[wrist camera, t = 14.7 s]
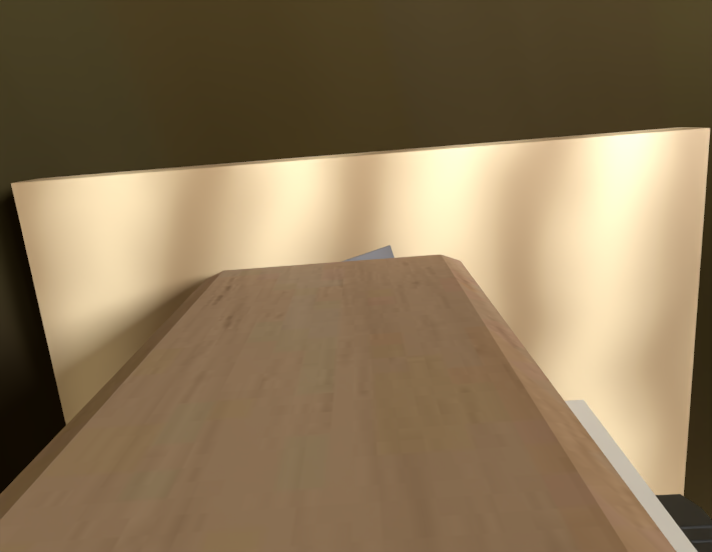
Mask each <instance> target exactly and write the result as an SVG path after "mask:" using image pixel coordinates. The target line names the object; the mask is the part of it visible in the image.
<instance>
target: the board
mask: <svg viewBox="0 0 712 552" xmlns="http://www.w3.org/2000/svg"><path fill="white" fill-rule="evenodd" d="M709 139H710V128H695V127H678V128H665V129H653V130H640V131H628V132H615V133H603V134H590V135H577V136H565V137H552V138H540V139H527V140H515V141H502V142H490V143H477V144H464V145H452V146H439V147H427V148H414V149H402V150H389V151H376V152H364V153H351V154H339V155H326V156H314V157H301V158H288V159H276V160H263V161H251V162H238V163H226V164H213V165H201V166H188V167H175V168H163V169H150V170H138V171H125V172H113V173H100V174H87V175H75V176H62V177H50V178H39V179H33V180H27V181H21V182H16V183H11V186H12V190H13V195H14V199H15V203H16V208H17V212H18V217H19V221H20V225H21V230H22V234H23V238H24V243H25V247H26V252H27V256H28V260H29V265H30V269H31V274H32V278H33V282H34V287H35V291H36V295H37V300H38V304H39V309H40V313H41V317H42V322H43V326H44V330H45V335H46V339H47V344H48V348H49V352H50V357H51V361H52V366H53V370H54V374H55V379H56V383H57V387H58V392H59V396H60V401H61V405H62V409H63V414H64V418H65V422H66V425H67V424H68V423H69V422H70V421H71V420H72V419H73V418H74V417H75V415H76V414H77V413H78V412H79V411H80V410H81V409H82V408H83V407H84V406H85V405H86V404H87V403H88V402H89V401H90V400H91V399H92V398H93V397H94V396H95V395H96V394H97V392H98V391H99V390H100V389H101V388H102V387H103V386H104V385H105V384H106V383H107V382H108V381H109V380H110V379H111V378H112V377H113V376H114V375H115V374H116V373H117V372H118V371H119V370H120V368H121V367H122V366H123V365H124V364H125V363H126V362H127V361H128V360H129V359H130V358H131V357H132V356H133V355H134V354H135V353H136V352H137V351H138V350H139V349H140V348H141V347H142V345H143V344H144V343H145V342H146V341H147V340H148V339H149V338H150V337H151V336H152V335H153V334H154V333H155V332H156V331H157V330H158V329H159V328H160V327H161V326H162V325H163V324H164V322H165V321H166V320H167V319H168V318H169V317H170V316H171V315H172V314H173V313H174V312H175V311H176V310H177V309H178V308H179V307H180V306H181V305H182V304H183V303H184V302H185V301H186V299H187V298H188V297H189V296H190V295H191V294H192V293H193V292H194V291H195V290H196V289H197V288H198V287H199V286H200V285H201V284H202V283H203V282H204V281H205V280H206V279H208V278H210V277H212V276H214V275H216V274H218V273H220V272H222V271H224V270H237V269H251V268H264V267H277V266H291V265H304V264H318V263H331V262H345V261H358V260H372V259H385V258H398V257H412V256H425V255H439V254H441V255H444V256H447V257H450V258H454V259H457V260H460V261H461V262H462V264H463V265H464V266H465V268H466V269H467V270H468V272H469V273H470V274H471V276H472V277H473V278H474V280H475V281H476V282H477V284H478V285H479V287H480V288H481V289H482V291H483V292H484V293H485V295H486V296H487V297H488V299H489V300H490V301H491V303H492V304H493V305H494V307H495V308H496V309H497V311H498V312H499V313H500V315H501V316H502V318H503V319H504V320H505V322H506V323H507V324H508V326H509V327H510V328H511V330H512V331H513V332H514V334H515V335H516V336H517V338H518V339H519V340H520V342H521V343H522V344H523V346H524V347H525V348H526V350H527V351H528V353H529V354H530V355H531V357H532V358H533V359H534V361H535V362H536V363H537V365H538V366H539V367H540V369H541V370H542V371H543V373H544V374H545V375H546V377H547V378H548V379H549V381H550V382H551V383H552V385H553V386H554V388H555V389H556V390H557V392H558V393H559V394H560V396H561V397H562V398H563V400H564V401H569V400H584V401H585V402H586V404H587V405H588V406H589V408H590V409H591V410H592V412H593V413H594V414H595V416H596V417H597V418H598V420H599V421H600V422H601V424H602V425H603V426H604V428H605V429H606V430H607V432H608V433H609V434H610V436H611V437H612V438H613V440H614V441H615V442H616V444H617V445H618V446H619V448H620V449H621V450H622V452H623V453H624V454H625V456H626V457H627V458H628V460H629V461H630V462H631V464H632V465H633V466H634V468H635V469H636V470H637V472H638V473H639V474H640V476H641V477H642V478H643V480H644V481H645V482H646V484H647V485H648V486H649V488H650V489H651V490H652V492H653V493H654V494H655V495H669V494H681V495H682V496H684V482H685V469H686V455H687V441H688V427H689V414H690V400H691V386H692V372H693V359H694V345H695V331H696V317H697V304H698V290H699V276H700V262H701V249H702V235H703V221H704V207H705V194H706V180H707V166H708V152H709Z"/></svg>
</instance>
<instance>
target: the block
mask: <svg viewBox="0 0 712 552" xmlns="http://www.w3.org/2000/svg"><path fill="white" fill-rule="evenodd" d="M0 552H676V550H675V549H674V548H673V546H672V545H671V544H670V542H669V541H668V540H667V538H666V537H665V536H664V534H663V533H662V532H661V530H660V529H659V528H658V526H657V525H656V524H655V522H654V521H653V520H652V518H651V517H650V515H649V514H648V513H647V511H646V510H645V509H644V507H643V506H642V505H641V503H640V502H639V501H638V499H637V498H636V497H635V495H634V494H633V493H632V491H631V490H630V489H629V487H628V486H627V484H626V483H625V482H624V480H623V479H622V478H621V476H620V475H619V474H618V472H617V471H616V470H615V468H614V467H613V466H612V464H611V463H610V462H609V460H608V459H607V458H606V456H605V455H604V454H603V452H602V451H601V449H600V448H599V447H598V445H597V444H596V443H595V441H594V440H593V439H592V437H591V436H590V435H589V433H588V432H587V431H586V429H585V428H584V427H583V425H582V424H581V423H580V421H579V420H578V419H577V417H576V416H575V414H574V413H573V412H572V410H571V409H570V408H569V406H568V405H567V404H566V402H565V401H564V400H563V398H562V397H561V396H560V394H559V393H558V392H557V390H556V389H555V388H554V386H553V385H552V383H551V382H550V381H549V379H548V378H547V377H546V375H545V374H544V373H543V371H542V370H541V369H540V367H539V366H538V365H537V363H536V362H535V361H534V359H533V358H532V357H531V355H530V354H529V353H528V351H527V350H526V348H525V347H524V346H523V344H522V343H521V342H520V340H519V339H518V338H517V336H516V335H515V334H514V332H513V331H512V330H511V328H510V327H509V326H508V324H507V323H506V322H505V320H504V319H503V318H502V316H501V315H500V313H499V312H498V311H497V309H496V308H495V307H494V305H493V304H492V303H491V301H490V300H489V299H488V297H487V296H486V295H485V293H484V292H483V291H482V289H481V288H480V287H479V285H478V284H477V282H476V281H475V280H474V278H473V277H472V276H471V274H470V273H469V272H468V270H467V269H466V268H465V266H464V265H463V264H462V262H461V261H460V260H457V259H454V258H450V257H447V256H444V255H441V254H439V255H425V256H412V257H398V258H385V259H372V260H358V261H345V262H331V263H318V264H304V265H291V266H277V267H264V268H251V269H237V270H224V271H222V272H220V273H218V274H216V275H214V276H212V277H210V278H208V279H206V280H205V281H204V282H203V283H202V284H201V285H200V286H199V287H198V288H197V289H196V290H195V291H194V292H193V293H192V294H191V295H190V296H189V297H188V298H187V299H186V301H185V302H184V303H183V304H182V305H181V306H180V307H179V308H178V309H177V310H176V311H175V312H174V313H173V314H172V315H171V316H170V317H169V318H168V319H167V320H166V321H165V322H164V324H163V325H162V326H161V327H160V328H159V329H158V330H157V331H156V332H155V333H154V334H153V335H152V336H151V337H150V338H149V339H148V340H147V341H146V342H145V343H144V344H143V345H142V347H141V348H140V349H139V350H138V351H137V352H136V353H135V354H134V355H133V356H132V357H131V358H130V359H129V360H128V361H127V362H126V363H125V364H124V365H123V366H122V367H121V368H120V370H119V371H118V372H117V373H116V374H115V375H114V376H113V377H112V378H111V379H110V380H109V381H108V382H107V383H106V384H105V385H104V386H103V387H102V388H101V389H100V390H99V391H98V392H97V394H96V395H95V396H94V397H93V398H92V399H91V400H90V401H89V402H88V403H87V404H86V405H85V406H84V407H83V408H82V409H81V410H80V411H79V412H78V413H77V414H76V415H75V417H74V418H73V419H72V420H71V421H70V422H69V423H68V424H67V425H66V426H65V427H64V428H63V429H62V430H61V431H60V432H59V433H58V434H57V435H56V436H55V437H54V438H53V440H52V441H51V442H50V443H49V444H48V445H47V446H46V447H45V448H44V449H43V450H42V451H41V452H40V453H39V454H38V455H37V456H36V457H35V458H34V459H33V460H32V461H31V463H30V464H29V465H28V466H27V467H26V468H25V469H24V470H23V471H22V472H21V473H20V474H19V475H18V476H17V477H16V478H15V479H14V480H13V481H12V482H11V483H10V484H9V486H8V487H7V488H6V489H5V490H4V491H3V492H2V493H1V494H0Z"/></svg>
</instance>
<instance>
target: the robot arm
mask: <svg viewBox="0 0 712 552" xmlns="http://www.w3.org/2000/svg"><path fill="white" fill-rule="evenodd" d="M565 402H566V404H567V405H568V406H569V408H570V409H571V410H572V412H573V413H574V414H575V416H576V417H577V419H578V420H579V421H580V423H581V424H582V425H583V427H584V428H585V429H586V431H587V432H588V433H589V435H590V436H591V437H592V439H593V440H594V441H595V443H596V444H597V445H598V447H599V448H600V449H601V451H602V452H603V454H604V455H605V456H606V458H607V459H608V460H609V462H610V463H611V464H612V466H613V467H614V468H615V470H616V471H617V472H618V474H619V475H620V476H621V478H622V479H623V480H624V482H625V483H626V484H627V486H628V487H629V489H630V490H631V491H632V493H633V494H634V495H635V497H636V498H637V499H638V501H639V502H640V503H641V505H642V506H643V507H644V509H645V510H646V511H647V513H648V514H649V515H650V517H651V518H652V520H653V521H654V522H655V524H656V525H657V526H658V528H659V529H660V530H661V532H662V533H663V534H664V536H665V537H666V538H667V540H668V541H669V542H670V544H671V545H672V546H673V548H674V549H675V550H676V552H712V520H711V519H710V517H709V516H708V515H707V514H706V513H705V511H704V510H703V509H702V508H701V507H699V506H698V505H696V504H695V503H693V502H692V501H690V500H688V499H687V498H685V497H684V496H682V495H681V494H669V495H655V494H654V493H653V492H652V490H651V489H650V488H649V486H648V485H647V484H646V482H645V481H644V480H643V478H642V477H641V476H640V474H639V473H638V472H637V470H636V469H635V468H634V466H633V465H632V464H631V462H630V461H629V460H628V458H627V457H626V456H625V454H624V453H623V452H622V450H621V449H620V448H619V446H618V445H617V444H616V442H615V441H614V440H613V438H612V437H611V436H610V434H609V433H608V432H607V430H606V429H605V428H604V426H603V425H602V424H601V422H600V421H599V420H598V418H597V417H596V416H595V414H594V413H593V412H592V410H591V409H590V408H589V406H588V405H587V404H586V402H585V401H584V400H569V401H565Z"/></svg>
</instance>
